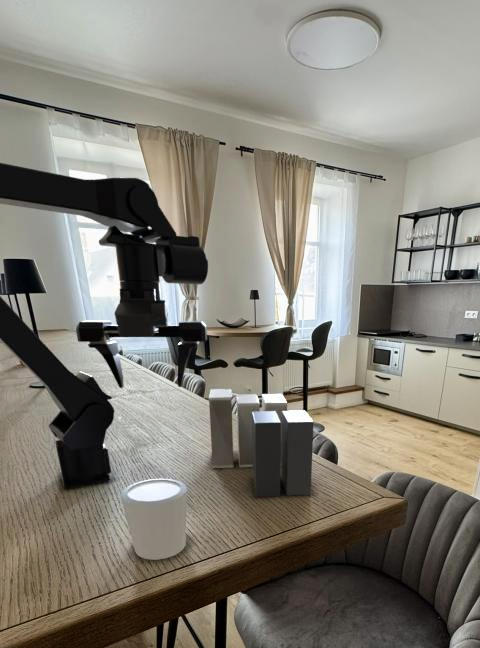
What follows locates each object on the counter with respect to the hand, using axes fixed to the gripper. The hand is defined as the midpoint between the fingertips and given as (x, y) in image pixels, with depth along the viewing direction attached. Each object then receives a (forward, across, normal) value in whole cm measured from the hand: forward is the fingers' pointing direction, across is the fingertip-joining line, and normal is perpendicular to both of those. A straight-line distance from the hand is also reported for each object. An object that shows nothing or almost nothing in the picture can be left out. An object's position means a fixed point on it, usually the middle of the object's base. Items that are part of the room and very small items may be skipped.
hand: (151, 387), depth 67 cm
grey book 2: (+13, +22, -13) cm, 29 cm away
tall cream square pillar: (+13, +11, -1) cm, 17 cm away
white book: (+13, +20, -1) cm, 24 cm away
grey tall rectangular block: (+13, +16, -1) cm, 20 cm away
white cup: (+13, +4, -28) cm, 31 cm away
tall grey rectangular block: (+13, +18, -13) cm, 25 cm away
